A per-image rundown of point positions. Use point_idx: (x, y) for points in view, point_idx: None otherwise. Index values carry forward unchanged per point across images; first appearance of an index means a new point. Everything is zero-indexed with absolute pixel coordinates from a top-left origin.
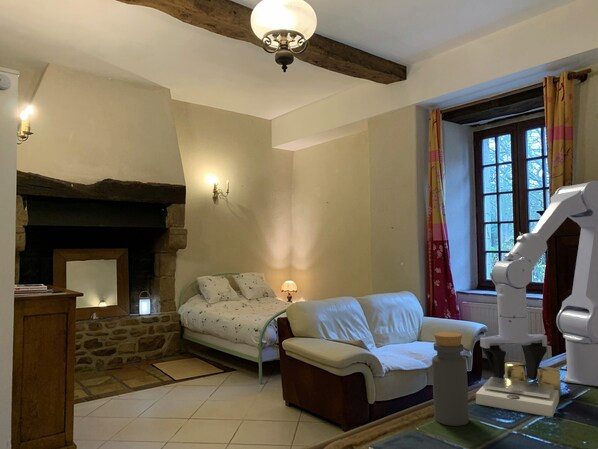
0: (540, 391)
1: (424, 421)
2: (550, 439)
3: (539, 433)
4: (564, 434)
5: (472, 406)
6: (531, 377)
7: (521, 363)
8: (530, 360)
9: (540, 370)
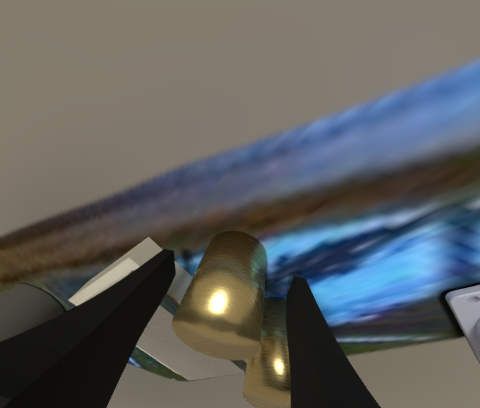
0: (185, 370)
1: (3, 288)
2: (143, 365)
3: (139, 357)
4: (165, 368)
5: (80, 284)
6: (288, 299)
7: (254, 344)
8: (300, 379)
9: (243, 393)
